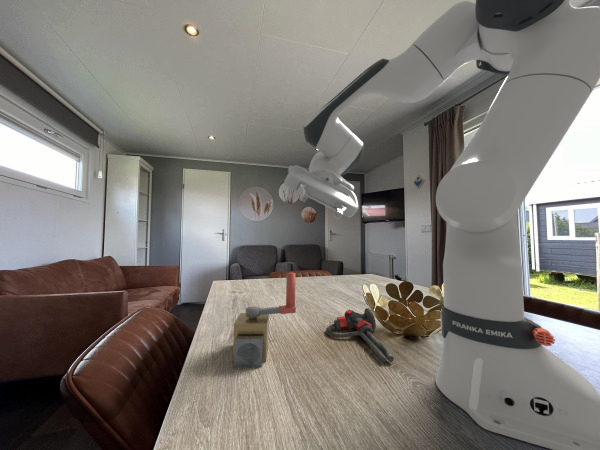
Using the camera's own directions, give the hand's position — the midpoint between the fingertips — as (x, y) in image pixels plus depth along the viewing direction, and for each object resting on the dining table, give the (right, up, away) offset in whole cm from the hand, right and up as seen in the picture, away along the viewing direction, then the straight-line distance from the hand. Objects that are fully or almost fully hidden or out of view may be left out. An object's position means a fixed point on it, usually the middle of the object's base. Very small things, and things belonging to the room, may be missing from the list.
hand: (321, 207), depth 53 cm
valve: (+10, -35, +8) cm, 38 cm away
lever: (-12, -25, +1) cm, 28 cm away
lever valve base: (-16, -33, -1) cm, 37 cm away
